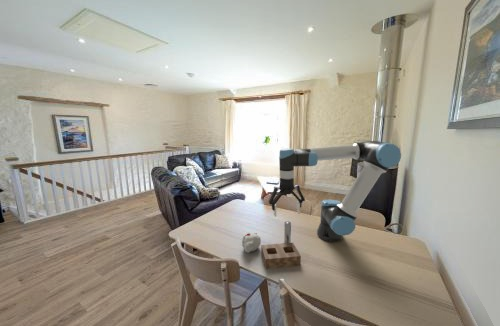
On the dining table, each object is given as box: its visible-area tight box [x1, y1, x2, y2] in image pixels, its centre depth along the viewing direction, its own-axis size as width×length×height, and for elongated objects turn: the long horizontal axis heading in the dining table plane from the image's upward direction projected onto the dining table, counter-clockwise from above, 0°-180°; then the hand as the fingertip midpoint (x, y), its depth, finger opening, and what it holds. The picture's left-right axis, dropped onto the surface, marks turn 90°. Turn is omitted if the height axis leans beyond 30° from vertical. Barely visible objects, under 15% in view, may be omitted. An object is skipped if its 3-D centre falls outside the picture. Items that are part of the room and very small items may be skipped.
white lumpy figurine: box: [241, 232, 262, 254], centre depth 117 cm, size 9×11×15 cm
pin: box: [283, 220, 292, 243], centre depth 116 cm, size 4×4×15 cm
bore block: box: [260, 242, 302, 269], centre depth 107 cm, size 18×12×5 cm, turn 97°
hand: (286, 214), depth 113 cm, fingers open, 13 cm apart
